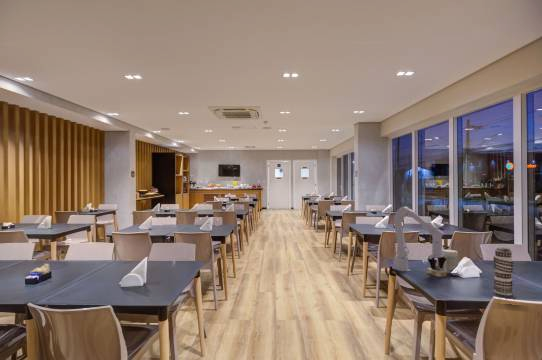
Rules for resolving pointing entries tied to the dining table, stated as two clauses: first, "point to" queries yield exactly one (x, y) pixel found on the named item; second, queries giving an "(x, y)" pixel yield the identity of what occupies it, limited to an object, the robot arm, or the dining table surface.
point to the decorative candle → (503, 271)
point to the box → (437, 273)
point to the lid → (437, 269)
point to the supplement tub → (450, 260)
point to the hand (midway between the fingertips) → (436, 268)
